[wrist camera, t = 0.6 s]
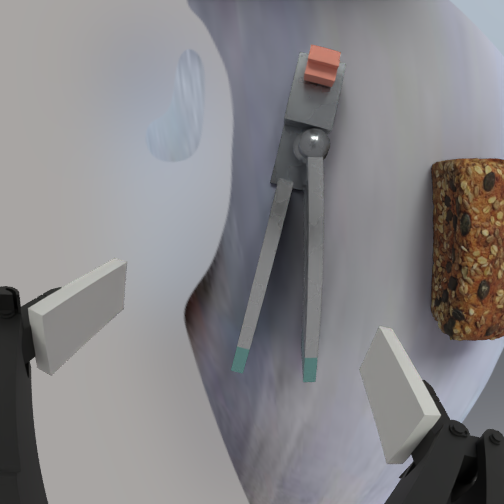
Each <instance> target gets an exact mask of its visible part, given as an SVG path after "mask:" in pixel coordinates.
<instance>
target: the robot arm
mask: <svg viewBox="0 0 504 504" xmlns="http://www.w3.org/2000/svg"><path fill="white" fill-rule="evenodd" d="M126 269H127V262H126V261H122V260H119V259H116V258H114V259H112V260H110V261H109V262H107V263H105V264H103V265H101V266H99V267H98V268H96V269H94V270H92V271H91V272H89V273H87V274H85V275H83V276H82V277H80V278H78V279H76V280H75V281H73V282H71V283H69V284H68V285H66V286H64V287H63V288H61V287H59V288H55V289H51V290H49V291H47V292H46V293H44V294H43V295H40V296H39V297H38V298H37V299H34V300H32V301H30V302H29V303H27V304H25V305H23V306H22V307H21V306H20V297H19V291H18V290H17V289H15V288H13V287H7V286H4V287H0V504H48V501H47V497H46V493H45V489H44V484H43V480H42V475H41V469H40V464H39V458H38V453H37V445H36V438H35V429H34V420H33V408H32V390H31V365H30V360H31V359H33V358H34V357H35V358H36V363H37V367H38V368H39V369H40V370H42V371H44V372H46V373H47V374H49V375H53V374H54V373H55V372H56V371H57V370H58V369H59V368H60V367H61V366H62V365H63V364H64V363H65V362H66V361H67V360H68V359H69V358H70V357H72V356H73V355H74V354H75V353H76V352H77V351H78V350H79V349H80V348H81V347H82V346H83V345H84V344H86V342H88V341H89V340H90V339H91V338H92V337H93V336H94V335H95V334H96V333H98V332H99V330H101V329H102V328H103V327H104V326H105V325H106V324H107V323H109V321H111V320H112V319H113V318H114V317H115V316H116V315H117V314H118V313H120V312H121V311H122V310H123V309H124V295H125V294H124V293H125V280H126ZM359 370H360V373H361V376H362V380H363V383H364V386H365V389H366V392H367V396H368V399H369V402H370V405H371V409H372V412H373V416H374V419H375V422H376V426H377V429H378V433H379V437H380V440H381V444H382V448H383V451H384V455H385V459H386V463H387V464H403V463H404V462H405V461H406V460H407V459H408V457H409V456H410V455H412V458H413V462H412V464H411V465H410V466H409V467H408V468H407V469H406V470H405V471H404V472H403V473H402V474H401V476H400V477H399V478H400V479H401V480H400V481H399V483H398V484H397V486H396V487H395V489H394V490H393V492H392V493H391V495H390V496H389V498H388V499H387V501H386V502H385V503H384V504H504V437H503V435H502V434H501V433H500V432H499V431H496V430H494V429H488V430H486V431H485V432H484V433H483V435H482V436H481V437H480V438H479V437H475V436H470V433H469V431H468V429H467V428H466V427H465V426H464V425H463V424H462V423H460V422H458V421H455V420H450V418H449V417H448V415H447V413H446V411H445V409H444V407H443V406H442V404H441V402H439V401H440V400H439V398H438V397H437V396H436V393H435V391H434V389H433V388H432V386H430V385H429V384H428V383H427V382H426V381H425V380H422V379H421V377H420V376H419V374H418V372H417V370H416V369H415V367H414V365H413V363H412V362H411V360H410V358H409V356H408V355H407V353H406V351H405V350H404V348H403V346H402V345H401V343H400V341H399V340H398V338H397V336H396V335H395V333H394V331H393V330H392V329H391V328H386V327H381V326H379V328H378V330H377V332H376V334H375V337H374V339H373V341H372V343H371V346H370V348H369V350H368V352H367V354H366V357H365V359H364V361H363V363H362V365H361V367H360V369H359ZM475 480H476V481H475Z"/></svg>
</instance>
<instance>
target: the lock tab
mask: <svg viewBox="0 0 504 504" xmlns="http://www.w3.org/2000/svg"><path fill="white" fill-rule="evenodd" d="M340 54H341V52H338V51H335V50H331V49H327V48H323V47H319V46H315V45H311V48H310V52H309V56H308V61H307V65H306V70H305V74H304V80H306V81H310V82H314V83H318V84H321V85H325V86H329V87H332V86H333V84H334V82H335V78H336V73H337V69H338V67H339V63H340V60H339V59H340Z"/></svg>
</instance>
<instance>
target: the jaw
mask: <svg viewBox="0 0 504 504" xmlns="http://www.w3.org/2000/svg"><path fill="white" fill-rule="evenodd" d="M329 148H330V140H329V138H328V136H327V134H326V133H325V132H323V131H322V130H320V129H309V130H307V131H305V132H304V133H303V134H302V136H301V138H300V140H299V143H298V150H299V153H300V154H301V155H302V156H303V157H304V158H305V159H306V172H307V184H304V283H303V318H302V343H301V351H302V368H303V382H315V380H316V369H317V358H318V345H319V332H320V316H321V298H322V275H323V238H324V180H323V157H322V156H324V155H325V154H326V153H327V152H328V150H329Z"/></svg>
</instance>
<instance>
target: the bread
mask: <svg viewBox="0 0 504 504" xmlns="http://www.w3.org/2000/svg"><path fill="white" fill-rule="evenodd" d="M431 173H432V183H433V204H434V210H433V223H434V227H433V229H434V237H433V239H434V243H433V249H434V252H433V261H434V265H433V268H432V293H431V298H432V305H431V311H432V314H433V317H434V318H435V320H436V321H437V322H438V327H439V328H440V329H441V331H442V332H443V333H445V334H448V335H449V336H450V340H452V339H453V340H459V341H461V340H474V341H476V340H487V339H490V340H494V339H496V338H500V337H502V336H504V160H502V159H477V158H472V159H453V160H445V161H440V162H436V163H435V164H433V165H432V168H431Z"/></svg>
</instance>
